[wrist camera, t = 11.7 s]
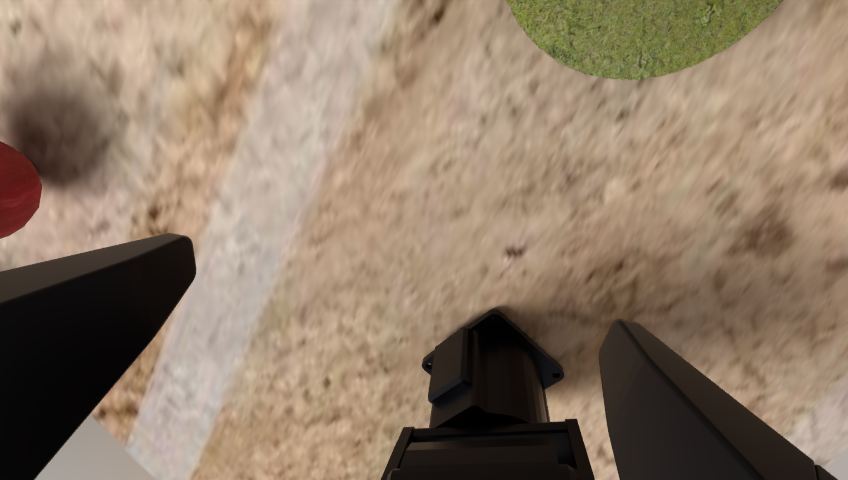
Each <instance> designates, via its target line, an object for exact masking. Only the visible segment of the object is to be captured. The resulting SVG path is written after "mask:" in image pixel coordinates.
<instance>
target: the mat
mask: <svg viewBox="0 0 848 480" xmlns="http://www.w3.org/2000/svg"><path fill="white" fill-rule="evenodd" d="M782 1H783V0H507V2H508V4H509V5H510V6H511V10H512V12H513V15H514V17H515V18H516V20H517V22H518V24H519V25H520V26H521V27H523V29H524V31H525V33H526V34H527V36H528V37H529V38H530V39H531V40H532V41H533V42H534V43H535V44H536V45H538V47H539V48H540V49H542V50H543V51H544V52H546V53H547V54H548V55H550V56H551V57H552V58H553V59H555V60H556V61H557V62H562V63H563V64H564V65H565V66H567V67H569V68H571V69H574V70H576V71H581V72H582V73H584V74H590V75H593V76H597V77H603V78H611V79H619V78H620V79H622V80H625V79H630V80H633V79H635V80H637V79H642V78H651V77H658V76H663V75H666V74H668V73H673V72H677V71H680V70H682V69H685V68H687V67H691V66H693V65H696V64H698V63H700V62H702V61H704V60H706V59H708V58H710V57H712V56H713V55H715V54H717V53H719V52H721V51H723V50H725V49H726V48H728V47H729V46H731V45H732V44H734V43H735V42H737V41H738V40H740V39H741V38H742V37H743V36H745V35H746V34H748V33H749V32H750V31H751V30H752V29H753V28H755V27H756V26H757V25H759V24H760V23H761V22H762V21H763V20H764V19H765V18H767V17H768V16H769V15H770V14H771V13H772V12H773V10H774V9H776V8H777V7H778V5H779V4H780V3H781V2H782Z"/></svg>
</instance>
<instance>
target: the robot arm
mask: <svg viewBox="0 0 848 480" xmlns="http://www.w3.org/2000/svg"><path fill="white" fill-rule="evenodd" d="M195 275H196V263H195V256H194V249H193V243H192V241H191V239H190V238H189V237H187V236H184V235H178V234H173V233H167V234H163V235H158V236H154V237H149V238H145V239H141V240H136V241H132V242H128V243H123V244H119V245H115V246H110V247H106V248H102V249H97V250H93V251H89V252H84V253H80V254H76V255H71V256H67V257H62V258H58V259H54V260H49V261H45V262H41V263H36V264H32V265H28V266H23V267H19V268H15V269H10V270H6V271H2V272H0V480H35V478H36V477H37V476H38V475H39V474H40V472H41V471H42V470H43V469H44V468H45V467H46V465H47V464H48V463H49V462H50V461H51V459H52V458H53V457H54V456H55V455H56V453H57V452H58V451H59V450H60V449H61V448H62V446H63V445H64V444H65V443H66V442H67V440H68V439H69V438H70V437H71V436H72V434H73V433H74V432H75V431H76V430H77V429H78V427H79V426H80V425H81V424H82V423H83V422H84V420H85V419H86V418H87V417H88V416H89V414H90V413H91V412H92V411H93V410H94V408H95V407H96V406H97V405H98V404H99V403H100V401H101V400H102V399H103V398H104V397H105V395H106V394H107V393H108V392H109V391H110V390H111V388H112V387H113V386H114V385H115V384H116V382H117V381H118V380H119V379H120V378H121V377H122V375H123V374H124V373H125V372H126V371H127V369H128V368H129V367H130V366H131V365H132V363H133V362H134V361H135V360H136V359H137V358H138V356H139V355H140V354H141V353H142V352H143V350H144V349H145V348H146V347H147V346H148V344H149V343H150V342H151V341H152V339H153V338H154V337H155V336H156V334H157V333H158V331H159V330H160V329H161V327H162V326H163V324H164V323H165V322H166V320H167V319H168V317H169V316H170V314H171V313H172V311H173V310H174V308H175V307H176V305H177V304H178V302H179V301H180V300H181V298H182V297H183V295H184V294H185V292H186V291H187V289H188V288H189V286H190V285H191V283H192V282H193V280H194V278H195ZM493 317H496V318H498V319H497V320H492V319H491V318H493ZM428 363H431V364H432V365H429V364H428ZM599 365H600V373H601V381H602V389H603V397H604V405H605V413H606V420H607V427H608V432H609V437H610V441H611V445H612V449H613V453H614V458H615V462H616V466H617V470H618V474H619V478H620V480H837V479H836V478H835V477H834V476H832V475H831V474H830V473H829V472H827V471H826V470H825V469H824V468H822V467H821V466H820V465H815V464H814V461H813V460H812V459H811V458H809V457H808V456H807V455H806V454H804V453H803V452H802V451H800V450H799V449H798V448H797V447H795V446H794V445H793V444H791V443H790V442H789V441H788V440H786V439H785V438H784V437H783V436H781V435H780V434H779V433H777V432H776V431H775V430H774V429H772V428H771V427H770V426H769V425H767V424H766V423H765V422H763V421H762V420H761V419H760V418H758V417H757V416H756V415H754V414H753V413H752V412H751V411H749V410H748V409H747V408H746V407H744V406H743V405H742V404H740V403H739V402H738V401H737V400H735V399H734V398H733V397H732V396H730V395H729V394H728V393H726V392H725V391H724V390H723V389H721V388H720V387H719V386H718V385H716V384H715V383H714V382H712V381H711V380H710V379H709V378H707V377H706V376H705V375H703V374H702V373H701V372H700V371H698V370H697V369H696V368H695V367H693V366H692V365H691V364H689V363H688V362H687V361H686V360H684V359H683V358H682V357H681V356H679V355H678V354H677V353H675V352H674V351H673V350H672V349H670V348H669V347H668V346H667V345H665V344H664V343H663V342H661V341H660V340H659V339H658V338H656V337H655V336H654V335H653V334H651V333H650V332H649V331H647V330H646V329H645V328H644V327H642V326H641V325H640V324H638V323H636V322H632V321H627V320H622V319H617V320H615V321H614V322H613V323H612V325H611V326H610V329H609V331H608V333H607V335H606V337H605V340H604V342H603V344H602V346H601V348H600V352H599ZM422 368H423V369H424V370H425V371H426V372H427V373H429V374H430V375H431V379H430V386H429V392H428V401H429V402H430V403H432V410H431V417H430V425H429V428H418V429H415V428H414V427H404V428H403V430H402V432H401V434H400V437H399V439H398V441H397V443H396V445H395V447H394V450H393V452H392V454H391V457H390V459H389V461H388V464H387V466H386V468H385V471H384V473H383V476H382V478H381V480H595V478H594V475H593V472H592V468H591V465H590V462H589V458H588V455H587V452H586V448H585V445H584V442H583V438H582V435H581V432H580V428H579V425H578V421H577V419H565V421H563V422H550V417H549V412H548V406H547V400H546V394H545V389H546V388H548V387H549V386H551V385H553V384H555V383H556V382H558V381H560V380H562V379H563V378H564V371H563V368H562V366H560V365H559V364H558V363H557V362H556V361H555V360H554V359H553V358H552V357H550V356H549V355H548V354H547V353H546V352H545V351H544V350H543V349H542V348H540V347H539V346H538V345H537V344H536V343H535V342H534V341H533V340H531V339H530V338H529V337H528V336H527V335H526V334H525V333H524V332H523V331H521V330H520V329H519V328H518V327H517V326H516V325H515V324H514V323H512V322H511V321H510V320H509V319H508V318H507V317H506V316H505V315H504V314H502V313H501V312H500V311H498V310H490V311H488V312H487V313H486V314H484V315H483V316H481V317H480V318H479V319H477V320H476V321H474V322H473V323H472V324H470V325H469V326H468V327H463V328H461V329H460V330H458V331H457V332H456V333H454V334H453V335H452V336H450V337H449V338H447V339H446V340H445V341H443V342H442V343H440V344H439V345H438V346H436V347H435V350H434V351H433V352H431V353H430V354H429V355H427V356H426V357H425V358H424V359H423V363H422ZM554 372H558V373H554Z"/></svg>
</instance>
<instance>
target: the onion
mask: <svg viewBox="0 0 848 480" xmlns="http://www.w3.org/2000/svg"><path fill="white" fill-rule="evenodd" d="M41 190H42V184H41V181H40V178H39V175H38V172H37V170H36V168H35V167H34V166H33V164H32V163H31V162H30V161H29V160H28V159H27V158H26V157H25V156H23V155H22V154H21V153H20V152H18V151H17V150H16V149H14V148H13V147H11V146H9V145H7V144H5V143H3V142H1V141H0V239H1V238H4V237H7V236H9V235H11V234H13V233H14V232H16V231H18V230H19V229H21V228H22V227H24V226H25V224H26V223H27V222H28V221H29V220H30V219H31V217H32V216H33V215H34V213H35V212H36V210H37V209H38V208H39V203H40V197H41Z"/></svg>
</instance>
